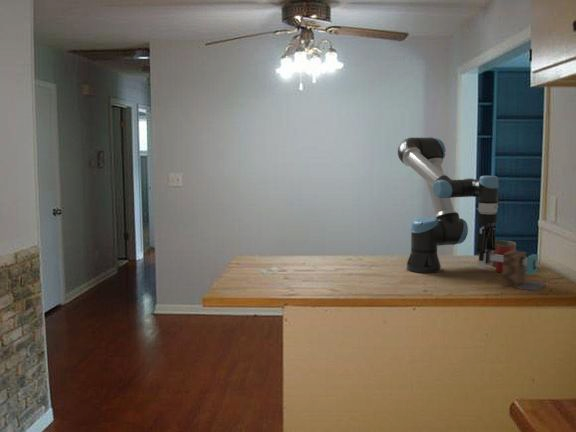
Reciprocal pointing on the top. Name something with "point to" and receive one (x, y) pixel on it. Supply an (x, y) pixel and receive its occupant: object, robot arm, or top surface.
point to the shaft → (496, 257)
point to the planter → (500, 242)
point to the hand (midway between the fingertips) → (485, 266)
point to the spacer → (531, 264)
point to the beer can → (501, 251)
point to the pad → (531, 286)
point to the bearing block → (513, 268)
